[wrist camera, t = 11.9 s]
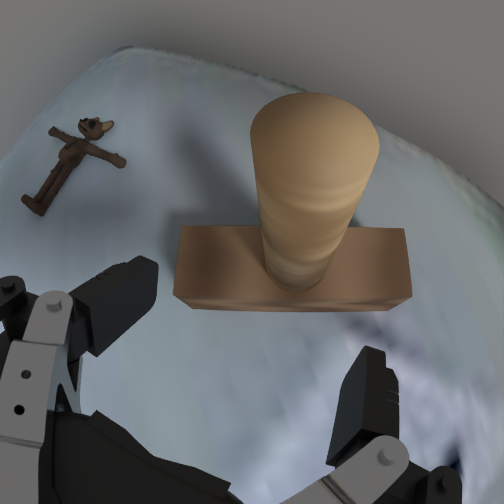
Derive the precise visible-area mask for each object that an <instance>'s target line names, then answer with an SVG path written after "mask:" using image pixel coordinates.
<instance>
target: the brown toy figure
mask: <svg viewBox="0 0 504 504" xmlns="http://www.w3.org/2000/svg"><path fill="white" fill-rule="evenodd" d="M113 125H114V122H113V121H108V122H104V123H101V122H100V121H99V118H98V117H96V118H94V119H88V118H85V119H84V120H82V119H80V122H79V123H78V129H79V131H80V132H81V133H82V134H83V135H84V136H85V139H81V138H76V137H75V136H74V137H72V136H69V135H67V134H65V133H64V132H61V131H59V130H58V129H56V128H55V127H54V126H53V127H52V128H51V129H50V130H49V131H48V134H49V135H50V136H53V137H57V138H59V139H60V140H62V141H64V142H65V143H67V144H66V145H65V146H64V147H63V148H62V149H61V150H60V151H59V159H60V160H59V162H58V163H57V165H56V166H55V167H54V169H53V170H51V174H50V175H49V177H48V178H47V180H46V181H45V183H44V184H43V186H42V187H41V189H40V191H39V192H38V194H37V195H36V196H35V197H34V198H31V197H29V196H28V195H26V194H24V195H23V196H22V198H21V201H22V202H23V203H24V204H25V205H26V206H27V207H28V208H29V209H30V210H31V211H32V212H34V213H36V214H38V215H40V216H43V215H44V214H45V212H46V210H47V208H48V206H49V205H50V204H51V202H52V200H53V198H54V196H55V195H56V194H57V192H58V190H59V188H60V187H61V185H62V184H63V182H64V181H65V179H66V178H67V176H68V175H69V173H70V172H71V170H72V169H73V168H75V167H76V166H77V165H78V164H79V163H80V161H81V160H82V158H83V156H84V155H85V154H86V153H87V154H89V155H92V156H95V157H98V158H101V159H103V160H106V161H108V162H110V163H112V164H113V165H114V166H116V167H117V168H124V167H125V165H126V160H125V159H124V158H122V157H119V156H118V153H116V154H111V153H109V152H106V151H104V150H102V149H99V148H98V147H97V146H93V145H92V144H89V143H88V141H89V140H98V139H100V138H101V137H102V136H103V135H104V132H106V131H108V130H109V129H110V128H112V126H113ZM64 166H65V167H64ZM63 167H64V169H63ZM62 169H63V170H62ZM61 170H62V172H61ZM60 172H61V173H60ZM59 173H60V175H59ZM58 175H59V176H58ZM57 176H58V178H57ZM56 178H57V179H56ZM55 179H56V181H55ZM54 181H55V182H54ZM53 182H54V184H53ZM52 184H53V185H52ZM51 185H52V187H51ZM50 187H51V189H50ZM49 189H50V190H49ZM48 190H49V192H48ZM47 192H48V193H47ZM46 193H47V194H46ZM45 195H46V196H45ZM42 200H43V201H42Z"/></svg>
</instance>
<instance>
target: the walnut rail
mask: <svg viewBox="0 0 504 504" xmlns="http://www.w3.org/2000/svg"><path fill="white" fill-rule="evenodd" d="M173 295H174V296H176V297H177V298H178V299H180V300H181V301H182V302H184V303H185V304H187V305H188V306H189V307H191V308H192V309H207V310H230V311H263V312H357V311H388V310H390V309H392V308H394V307H395V306H397V305H399V304H401V303H402V302H404V301H406V300H407V299H409V298H411V297H412V286H411V276H410V267H409V259H408V252H407V245H406V238H405V232H404V229H402V228H372V227H347V229H346V231H345V233H344V235H343V238H342V240H341V242H340V244H339V246H338V248H337V250H336V252H335V254H334V256H333V258H332V260H331V262H330V264H329V266H328V269H327V271H326V273H325V275H324V277H323V278H322V280H321V281H320V282H319V283H318V284H317V285H316V286H315V287H313V288H312V289H310V290H307V291H304V292H289V291H286V290H283V289H281V288H280V287H278V286H277V285H276V284H274V283H273V281H272V280H271V279H270V277H269V275H268V273H267V270H266V265H265V256H264V247H263V238H262V229H261V226H182V227H181V234H180V241H179V248H178V256H177V264H176V272H175V280H174V289H173Z"/></svg>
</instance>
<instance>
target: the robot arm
mask: <svg viewBox="0 0 504 504" xmlns="http://www.w3.org/2000/svg"><path fill="white" fill-rule="evenodd" d="M158 269H159V267H158V264H157V262H154V261H152V260H150V259H148V258H145V257H143V256H137V257H135V258H134V259H132V260H131V261H129V262H127V263H126V262H124V263H120V264H116V265H112V266H111V267H109V268H108V269H106V270H104V271H103V273H102V272H101V273H99V274H98V275H96V277H95V278H94V277H93V278H91V279H90V280H88V281H87V282H85V283H83V284H82V285H80V286H79V287H77V288H76V289H74V290H73V291H71V292H69V293H68V294H67V293H65V292H62V291H49V292H46V293H44V294H42V295H40V296H38V295H35V294H32V293H29V292H26V287H25V283H24V280H23V279H22V278H20V277H18V276H6V277H3V278H1V279H0V321H2V323H3V326H4V329H5V331H4V332H2V333H1V334H0V504H244V503H243V502H242V501H241V500H239V499H238V498H237V497H236V496H235V495H233V494H232V493H231V492H229V491H228V489H229V487H230V485H231V483H230V482H227V481H225V480H222V479H220V478H218V477H215V476H213V475H211V474H208V473H206V472H204V471H202V470H200V469H197V468H195V467H192V466H187V465H183V464H179V463H176V462H172V461H168V460H165V459H161V458H158V457H155V456H153V455H152V454H150V453H149V452H148V451H147V450H146V449H145V448H144V447H143V446H142V445H141V444H140V443H139V442H138V441H137V440H136V439H135V438H134V437H133V436H132V435H131V434H130V433H129V432H128V431H127V430H126V429H124V428H123V427H121V426H120V425H118V424H117V423H115V422H113V421H112V420H111V419H109V418H108V417H106V416H105V415H103V414H102V413H100V412H99V411H97V410H96V411H95V412H94V413H93V414H92V415H91V416H88V415H84V414H82V413H81V407H80V386H81V374H82V364H83V357H82V355H83V354H84V353H85V352H86V351H88V352H90V353H91V354H92V355H94V356H95V357H98V356H99V355H100V354H101V353H102V352H103V351H105V350H106V349H107V348H108V347H109V346H110V345H111V344H112V343H113V342H115V341H116V340H117V339H118V338H119V337H120V336H121V335H122V334H123V333H125V332H126V331H127V330H128V329H129V328H130V327H131V326H132V325H134V324H135V323H136V322H137V321H138V320H139V319H140V318H141V317H143V316H144V315H145V314H146V313H147V312H148V311H149V310H150V309H151V308H152V307H153V305H154V303H155V300H156V296H157V282H158ZM398 393H399V386H398V380H397V377H396V375H395V373H394V371H393V369H390V368H386V354H385V352H384V351H381V350H378V349H375V348H372V347H369V346H364V347H363V349H362V350H361V352H360V353H359V355H358V357H357V358H356V360H355V362H354V363H353V365H352V366H351V368H350V370H349V371H348V373H347V374H346V376H345V378H344V380H343V383H342V386H341V389H340V395H339V401H338V406H337V412H336V417H335V422H334V427H333V432H332V437H331V442H330V446H329V451H328V455H327V460H326V465H330V466H334V467H335V470H334V471H332V472H331V473H330V474H328V475H327V476H324V477H322V478H321V479H319V480H317V481H316V482H314V483H313V484H311V485H310V486H308V487H307V488H305V489H304V490H302V491H300V492H299V493H297V494H296V495H294V496H292V497H291V498H289V499H287V500H286V501H284V502H282V503H280V504H462V482H461V478H460V476H459V475H458V473H457V472H456V471H455V470H454V469H452V468H450V467H448V466H439V467H437V468H435V469H434V470H432V471H431V472H429V471H427V470H426V469H424V468H422V467H420V466H418V465H416V464H414V463H412V462H411V461H410V460H409V453H408V451H407V448H406V447H405V445H404V444H403V443H402V442H401V441H400V440H399V405H398V404H399V395H398Z"/></svg>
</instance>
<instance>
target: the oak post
mask: <svg viewBox="0 0 504 504" xmlns="http://www.w3.org/2000/svg"><path fill="white" fill-rule="evenodd" d="M250 136H251V146H252V154H253V162H254V170H255V179H256V187H257V195H258V204H259V212H260V221H261V229H262V238H263V247H264V256H265V265H266V270H267V273H268V275H269V277H270V279H271V280H272V281H273V283H274V284H276V285H277V286H278V287H280V288H281V289H283V290H286V291H289V292H304V291H307V290H310V289H312V288H313V287H315V286H316V285H317V284H318V283H319V282H320V281H321V280H322V278H323V277H324V275H325V273H326V271H327V269H328V266H329V264H330V262H331V260H332V258H333V256H334V254H335V252H336V250H337V248H338V246H339V244H340V242H341V240H342V238H343V235H344V233H345V231H346V229H347V227H348V225H349V222H350V220H351V218H352V216H353V214H354V212H355V209H356V207H357V205H358V203H359V200H360V198H361V196H362V193H363V191H364V189H365V187H366V184H367V182H368V180H369V177H370V175H371V172H372V170H373V168H374V165H375V163H376V160H377V158H378V155H379V149H380V148H379V138H378V134H377V132H376V129H375V128H374V126H373V124H372V123H371V121H370V120H369V119H368V118H367V117H366V115H365V114H364V113H362V112H361V111H360V110H359V109H358V108H356V107H355V106H353V105H352V104H350V103H348V102H346V101H344V100H342V99H339V98H337V97H334V96H330V95H326V94H320V93H311V92H303V93H294V94H289V95H286V96H282V97H280V98H277V99H275V100H273V101H271V102H270V103H268V104H267V105H265V106H264V107H263V108H262V109H261V110H260V111H259V112H258V114H257V115H256V116H255V118H254V120H253V123H252V126H251V131H250Z"/></svg>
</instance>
